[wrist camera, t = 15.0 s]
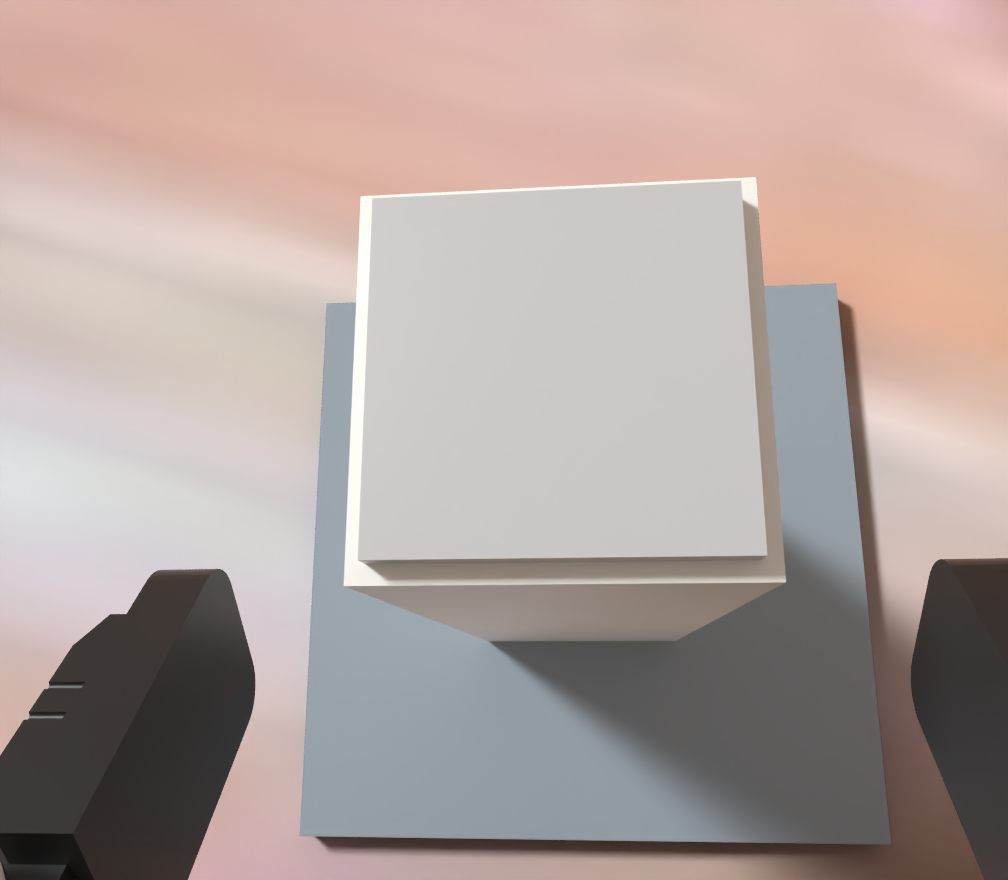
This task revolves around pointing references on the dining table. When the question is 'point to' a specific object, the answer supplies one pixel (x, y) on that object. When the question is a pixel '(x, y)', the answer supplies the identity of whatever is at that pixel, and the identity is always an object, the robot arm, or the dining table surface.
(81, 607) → the dining table surface
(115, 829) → the robot arm
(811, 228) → the dining table surface
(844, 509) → the mat
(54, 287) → the dining table surface
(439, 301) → the white tall rectangular block
